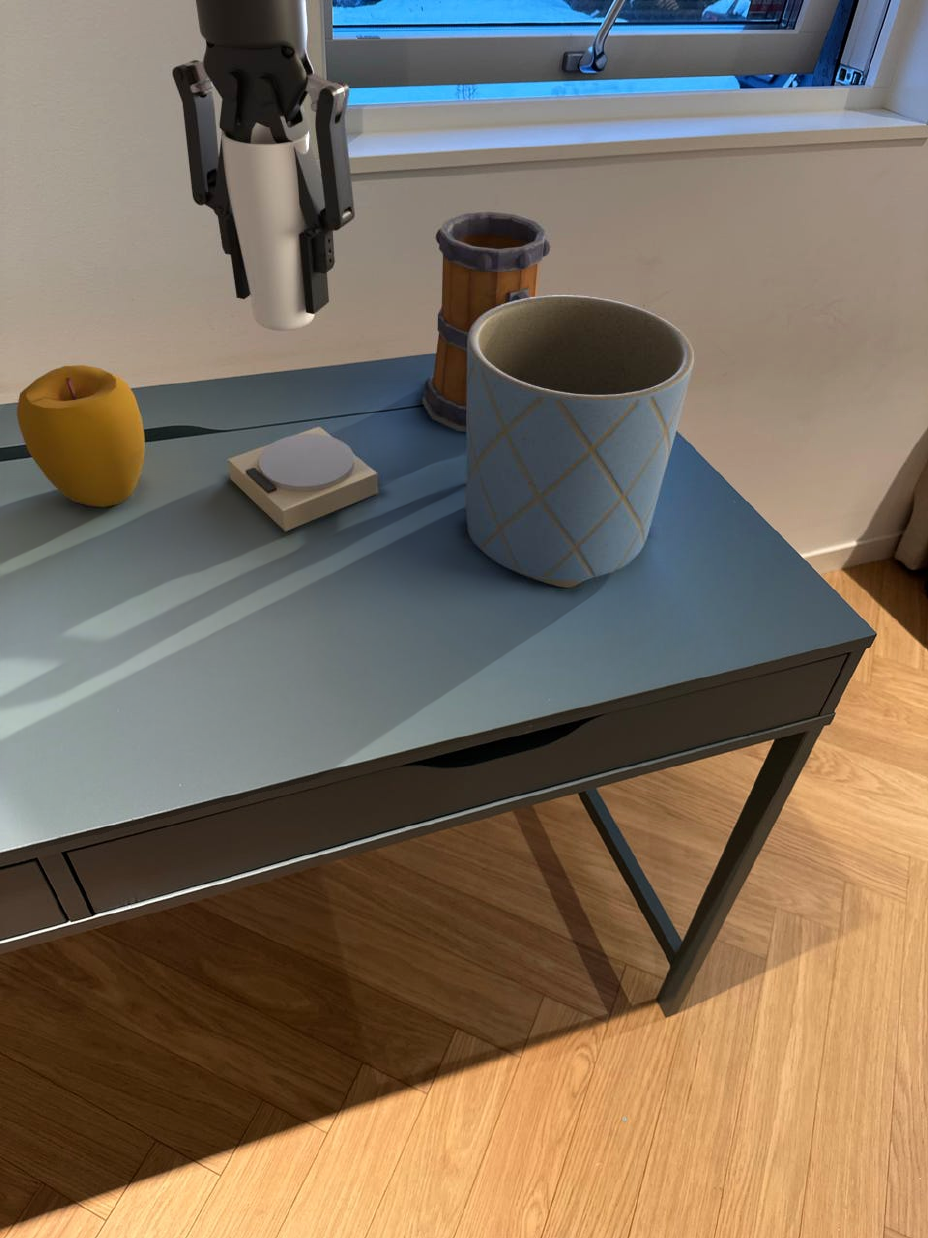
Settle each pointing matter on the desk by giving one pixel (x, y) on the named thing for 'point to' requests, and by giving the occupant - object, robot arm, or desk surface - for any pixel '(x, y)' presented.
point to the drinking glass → (269, 225)
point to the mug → (477, 294)
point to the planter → (569, 432)
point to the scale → (303, 477)
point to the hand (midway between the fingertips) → (282, 299)
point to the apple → (84, 433)
